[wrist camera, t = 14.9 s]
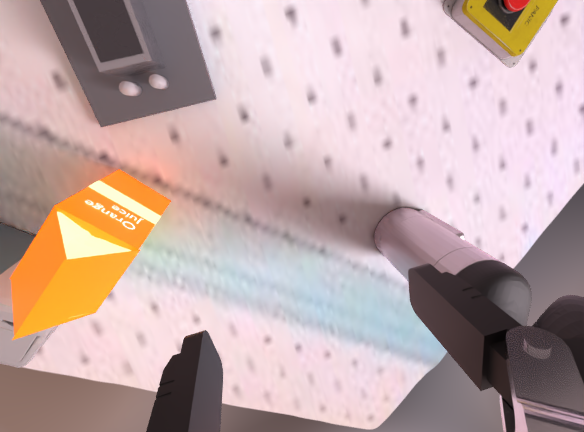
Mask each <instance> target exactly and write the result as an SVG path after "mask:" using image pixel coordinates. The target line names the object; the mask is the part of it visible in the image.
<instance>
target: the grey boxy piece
mask: <svg viewBox="0 0 584 432" xmlns="http://www.w3.org/2000/svg"><path fill="white" fill-rule="evenodd" d="M67 1H68V3H69V5H70V7H71V10H72V12H73V14H74V16H75V19H76V21H77V23H78V25H79V28H80V30H81V32H82V34H83V36H84V39H85V41H86V43H87V45H88V48H89V50H90V52H91V54H92V57H93V59H94V61H95V63H96V66H97V68H98V70H99V72H101V73H106V74H110V75H115V76H119V77H126V76H130V75H134V74H139V73H143V72H147V71H152V70H156V69H160V68H165V67H166V66H165V63H164V60H163V57H162V55H161V52H160V49H159V46H158V44H157V41H156V38H155V35H154V32H153V30H152V27H151V24H150V21H149V19H148V16H147V13H146V10H145V7H144V5H143V2H142V0H67Z"/></svg>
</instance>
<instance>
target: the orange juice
mask: <svg viewBox="0 0 584 432" xmlns="http://www.w3.org/2000/svg"><path fill="white" fill-rule="evenodd" d="M170 202H171V201H170V200H169V199H167V198H166V197H164V196H162V195H161V194H159V193H157V192H156V191H154V190H152V189H151V188H149V187H148V186H146V185H144V184H143V183H141V182H139V181H138V180H136V179H134V178H133V177H131V176H130V175H128V174H126V173H125V172H123V171H121V170H120V169H119V170H117V171H115V172H113V173H112V174H110V175H108V176H106V177H105V178H103V179H101V180H98V181H96V182H95V183H93V184H91V185H89V186H88V187H87V188H85V189H83V190H82V191H80V192H78V193H76V194H74V195H73V196H71V197H69V198H67V199H66V200H64V201H62V202H60V203H58V204H57V205H55V206H54V208H53V209H52V211H51V212H50V214H49V216H48V217H47V219H46V220H45V222H44V224H43V225H42V227H41V229H40V230H39V232H38V233H37V235H36V237H35V238H34V240H33V242H32V243H31V245H30V246H29V248H28V250H27V251H26V253H25V255H24V256H23V258H22V259H21V261H20V263H19V264H18V266H17V268H16V269H15V271H14V272H13V274H12V276H11V277H10V279H11V286H12V304H13V322H14V338H13V339H12V340H15V339H18V338H21V337H24V336H27V335H30V334H33V333H36V332H39V331H42V330H45V329H48V328H51V327H54V326H57V325H60V324H63V323H66V322H69V321H72V320H75V319H78V318H81V317H84V316H87V315H90V314H93V313H96V311H97V310H98V308H99V307H100V306H101V304H102V303H103V301H104V300H105V298H106V297H107V296H108V294H109V293H110V291H111V290H112V289H113V287H114V286H115V284H116V283H117V282H118V281H119V279H120V278H121V276H122V275H123V273H124V272H125V270H126V269H127V268H128V266H129V265H130V263H131V262H132V261H133V259H134V258H135V257H136V255H137V254H138V252H139V251H140V250H141V249H140V250H138V249H139V248H140V246H141V245H142V243H143V242H144V240H145V239H146V238H147V236H148V235H149V233H150V232H151V230H152V229H153V228H154V226H155V225H156V223H157V222H158V220H159V219H160V217H161V215H162V214H163V212H164V211H165V209H166V208H167V206H168V205H169V203H170Z"/></svg>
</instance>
